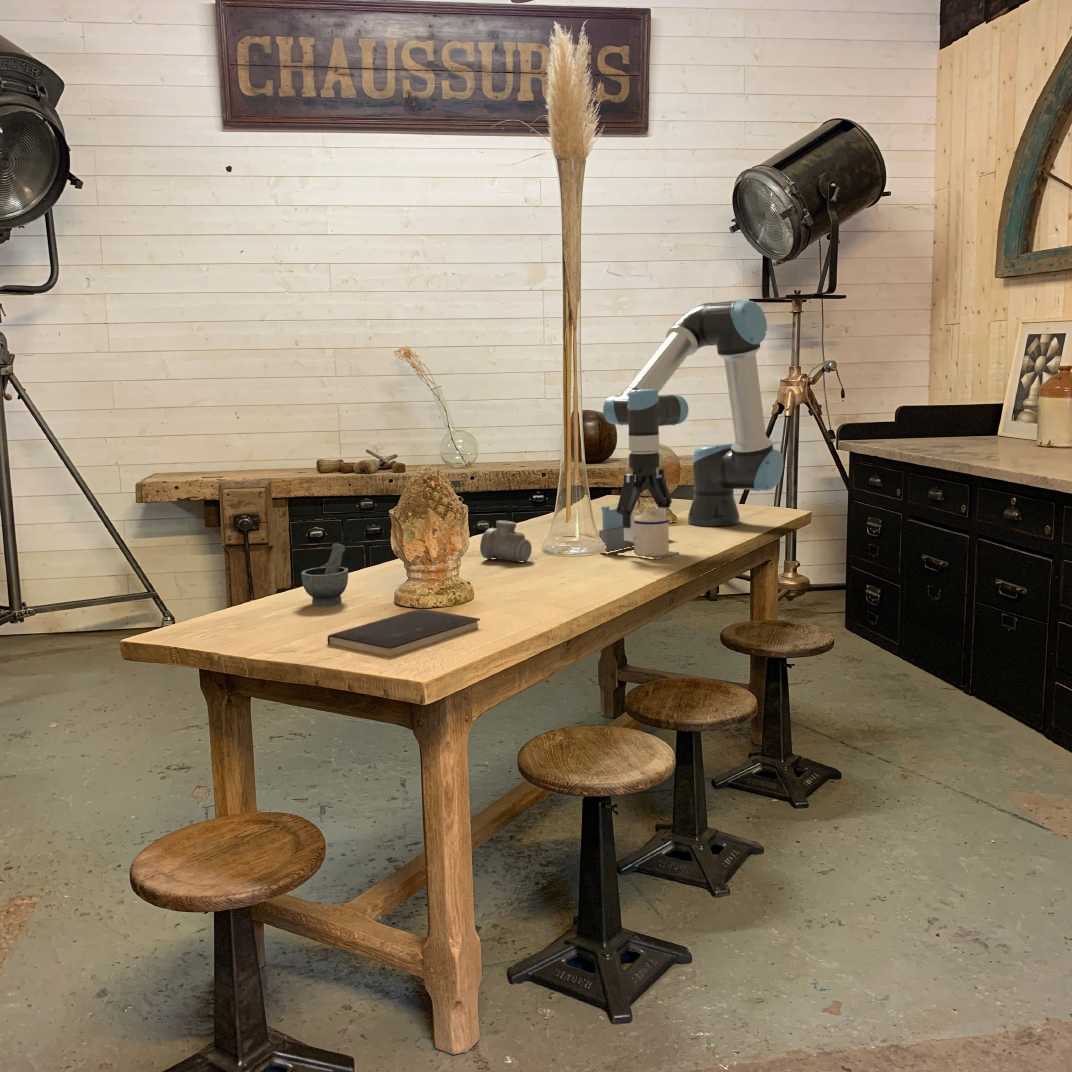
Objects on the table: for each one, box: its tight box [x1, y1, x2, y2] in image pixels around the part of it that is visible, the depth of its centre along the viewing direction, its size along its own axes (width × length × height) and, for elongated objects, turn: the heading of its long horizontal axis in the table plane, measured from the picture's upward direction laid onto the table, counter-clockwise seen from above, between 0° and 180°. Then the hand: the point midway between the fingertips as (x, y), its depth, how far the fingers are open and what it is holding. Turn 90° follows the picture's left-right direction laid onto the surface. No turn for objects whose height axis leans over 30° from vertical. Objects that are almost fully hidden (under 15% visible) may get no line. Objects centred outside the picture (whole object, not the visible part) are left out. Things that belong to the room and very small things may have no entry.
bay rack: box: [598, 527, 680, 560], centre depth 267 cm, size 27×17×6 cm, turn 138°
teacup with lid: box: [629, 506, 670, 557], centre depth 259 cm, size 12×9×12 cm
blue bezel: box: [601, 505, 629, 531], centre depth 265 cm, size 10×1×6 cm, turn 138°
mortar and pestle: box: [300, 543, 349, 608], centre depth 216 cm, size 11×9×12 cm
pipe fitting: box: [479, 520, 533, 562], centre depth 257 cm, size 12×8×10 cm
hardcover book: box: [327, 608, 481, 657], centre depth 188 cm, size 16×23×2 cm
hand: (645, 536), depth 259 cm, fingers open, 13 cm apart
